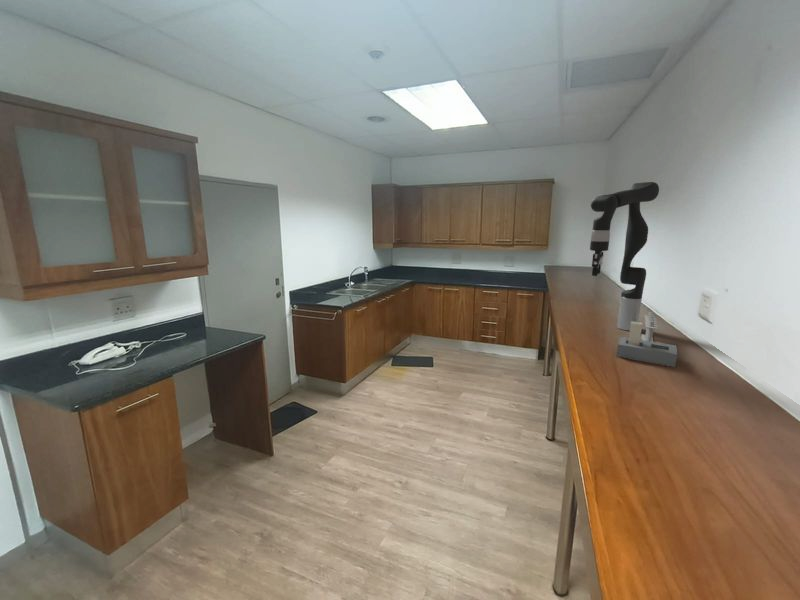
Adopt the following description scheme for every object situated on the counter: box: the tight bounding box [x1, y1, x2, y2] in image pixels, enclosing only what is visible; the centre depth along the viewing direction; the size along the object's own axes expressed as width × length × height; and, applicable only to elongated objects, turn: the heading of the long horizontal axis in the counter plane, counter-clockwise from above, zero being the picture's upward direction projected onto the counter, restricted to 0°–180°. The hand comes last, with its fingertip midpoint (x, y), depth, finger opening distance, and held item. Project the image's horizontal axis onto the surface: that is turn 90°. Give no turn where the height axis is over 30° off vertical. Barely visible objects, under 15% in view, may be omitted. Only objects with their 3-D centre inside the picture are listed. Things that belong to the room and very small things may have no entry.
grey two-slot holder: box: [615, 336, 678, 368], centre depth 147 cm, size 12×20×6 cm, turn 53°
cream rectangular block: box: [628, 321, 643, 345], centre depth 149 cm, size 3×4×13 cm
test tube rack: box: [641, 311, 659, 342], centre depth 163 cm, size 25×4×13 cm, turn 146°
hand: (595, 274), depth 165 cm, fingers open, 8 cm apart
